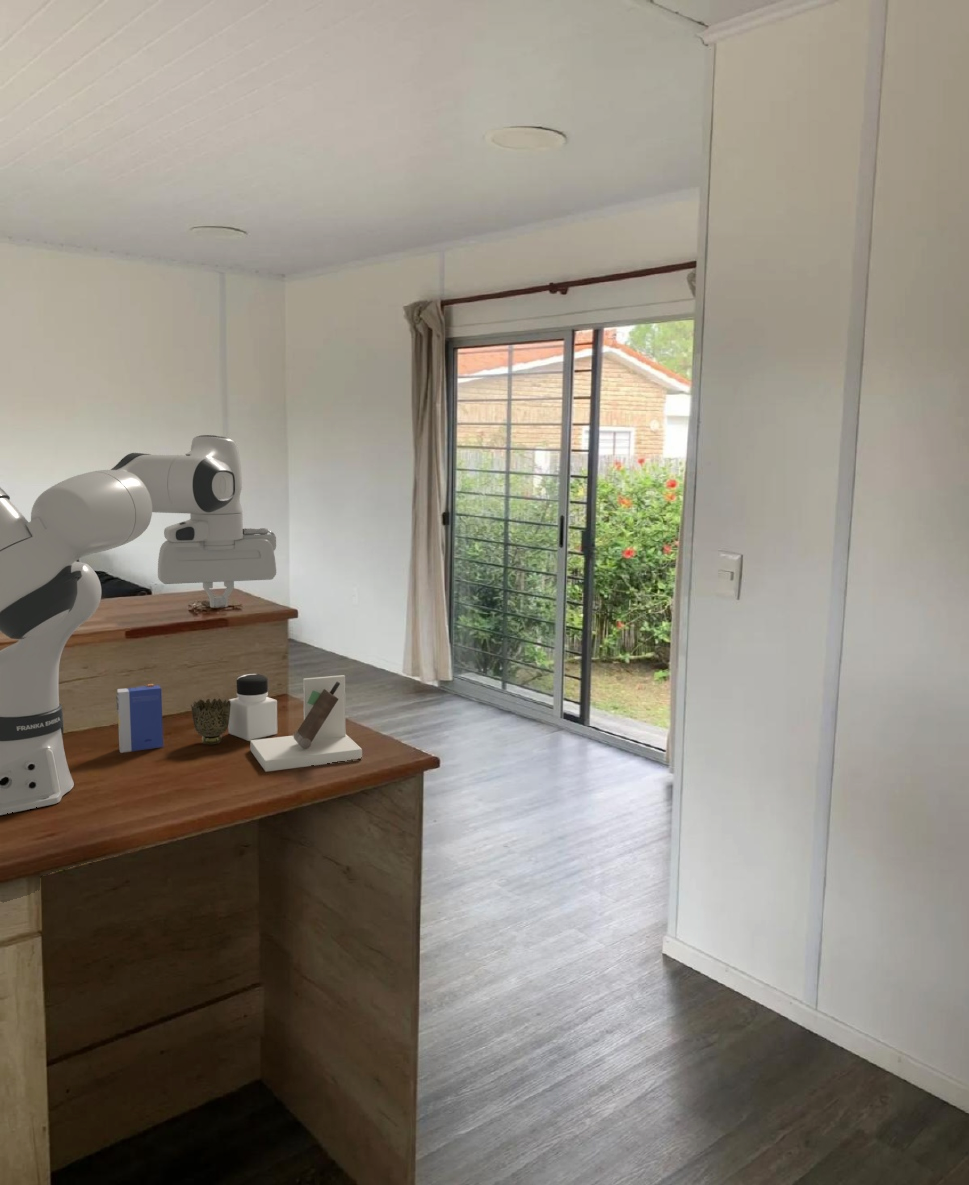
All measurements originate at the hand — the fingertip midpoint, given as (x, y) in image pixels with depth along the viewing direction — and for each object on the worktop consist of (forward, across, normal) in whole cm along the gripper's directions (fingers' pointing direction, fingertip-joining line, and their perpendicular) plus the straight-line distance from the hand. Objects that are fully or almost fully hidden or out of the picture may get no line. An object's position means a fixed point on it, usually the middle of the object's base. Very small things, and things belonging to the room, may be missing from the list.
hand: (218, 606), depth 172 cm
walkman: (+29, +13, -15) cm, 35 cm away
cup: (+29, 0, -13) cm, 32 cm away
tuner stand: (+29, -15, +1) cm, 33 cm away
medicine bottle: (+29, -9, -16) cm, 35 cm away
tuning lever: (+26, -14, +2) cm, 29 cm away
